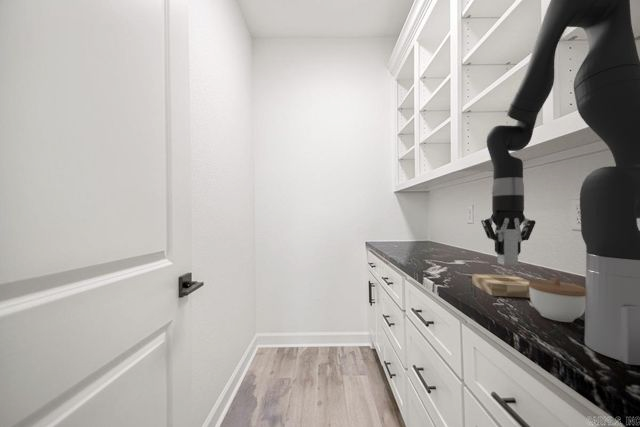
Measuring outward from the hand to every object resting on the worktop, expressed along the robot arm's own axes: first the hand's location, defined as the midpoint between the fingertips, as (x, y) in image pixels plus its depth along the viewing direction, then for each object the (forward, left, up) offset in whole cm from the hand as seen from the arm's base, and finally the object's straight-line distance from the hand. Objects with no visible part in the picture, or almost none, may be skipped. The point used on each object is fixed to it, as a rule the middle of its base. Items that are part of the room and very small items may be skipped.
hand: (507, 254), depth 77 cm
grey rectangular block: (0, 0, -3) cm, 3 cm away
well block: (+11, -5, -13) cm, 18 cm away
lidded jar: (-12, -5, -13) cm, 18 cm away
